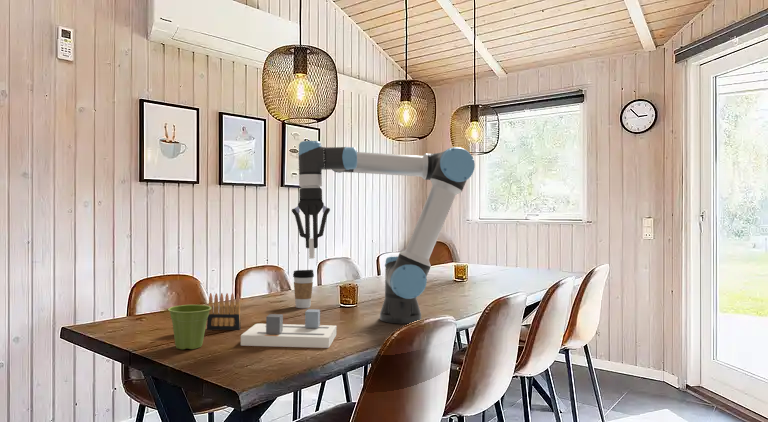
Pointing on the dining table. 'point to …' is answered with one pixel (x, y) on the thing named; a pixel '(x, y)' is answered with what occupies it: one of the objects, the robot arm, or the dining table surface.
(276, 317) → the tab front
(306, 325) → the tab back
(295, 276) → the coffee cup
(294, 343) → the switch panel
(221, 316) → the ammunition clip
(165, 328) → the dining table surface
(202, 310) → the plant pot
